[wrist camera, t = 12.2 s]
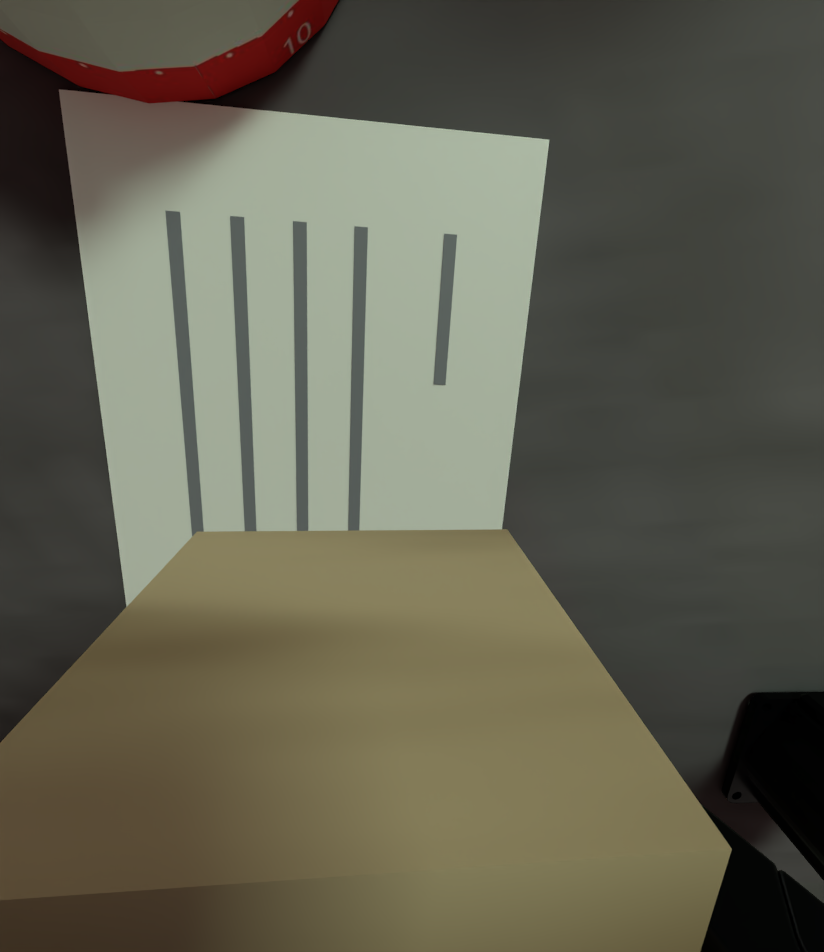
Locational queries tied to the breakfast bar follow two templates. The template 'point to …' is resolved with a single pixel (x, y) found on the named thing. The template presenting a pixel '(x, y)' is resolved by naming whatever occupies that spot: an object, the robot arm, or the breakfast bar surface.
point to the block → (347, 766)
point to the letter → (299, 318)
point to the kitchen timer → (161, 42)
